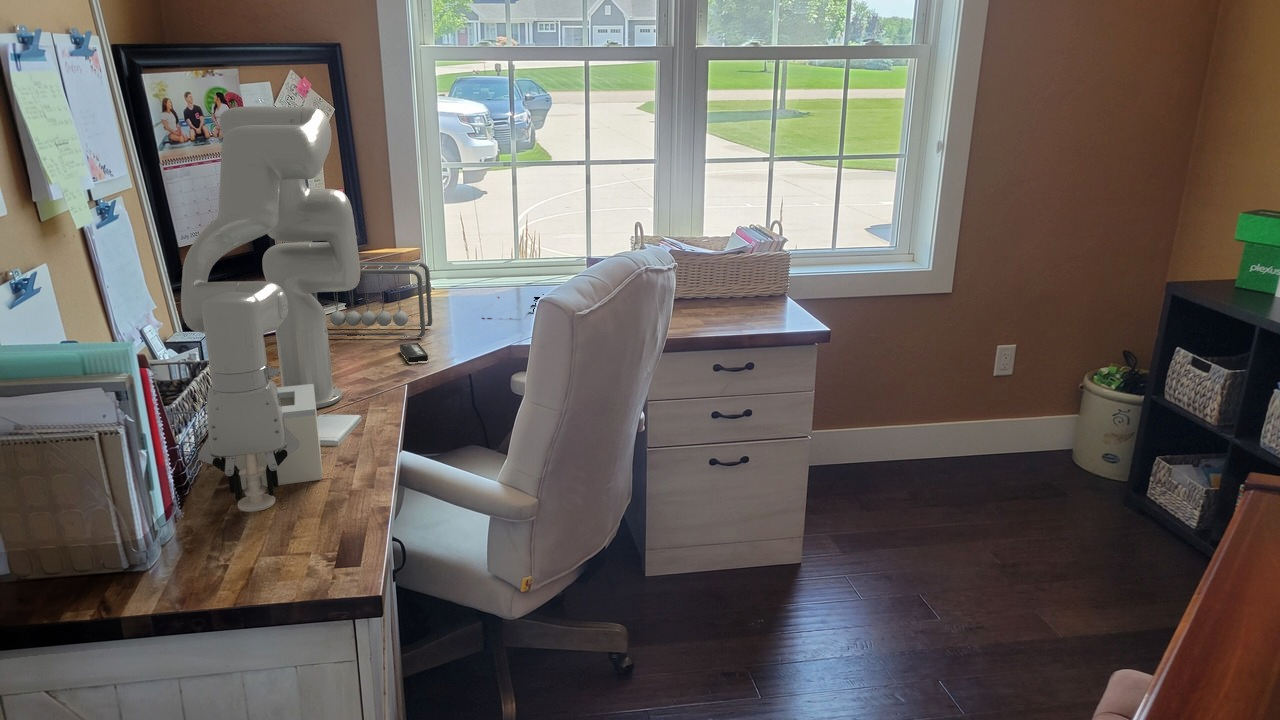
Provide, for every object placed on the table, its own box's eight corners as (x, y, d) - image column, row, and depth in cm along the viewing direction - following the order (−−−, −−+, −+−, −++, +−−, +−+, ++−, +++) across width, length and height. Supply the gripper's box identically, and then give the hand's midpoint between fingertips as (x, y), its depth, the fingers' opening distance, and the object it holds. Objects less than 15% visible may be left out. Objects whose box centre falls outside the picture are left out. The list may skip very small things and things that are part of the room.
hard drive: (318, 414, 167) (291, 438, 155) (361, 414, 166) (337, 439, 155) (319, 422, 167) (292, 447, 155) (362, 423, 167) (338, 448, 155)
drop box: (238, 459, 149) (229, 391, 145) (320, 449, 153) (313, 383, 150) (234, 491, 137) (224, 418, 134) (322, 479, 142) (315, 409, 138)
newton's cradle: (433, 329, 230) (429, 261, 224) (425, 340, 220) (420, 269, 214) (316, 329, 229) (309, 261, 223) (303, 340, 219) (295, 269, 213)
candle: (278, 495, 136) (271, 432, 133) (271, 510, 131) (262, 446, 128) (243, 497, 135) (234, 434, 132) (233, 513, 130) (224, 447, 127)
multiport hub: (409, 366, 200) (408, 356, 199) (399, 353, 209) (399, 344, 209) (428, 364, 202) (428, 354, 201) (418, 351, 211) (417, 342, 210)
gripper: (302, 365, 133) (314, 476, 139) (179, 376, 128) (196, 492, 133) (302, 380, 127) (314, 496, 132) (172, 392, 121) (191, 513, 126)
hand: (255, 493), depth 132 cm, fingers closed on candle, 3 cm apart
